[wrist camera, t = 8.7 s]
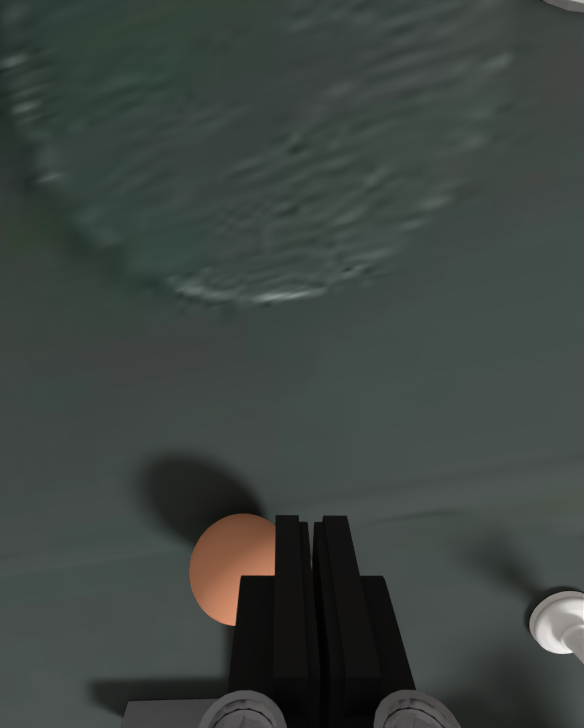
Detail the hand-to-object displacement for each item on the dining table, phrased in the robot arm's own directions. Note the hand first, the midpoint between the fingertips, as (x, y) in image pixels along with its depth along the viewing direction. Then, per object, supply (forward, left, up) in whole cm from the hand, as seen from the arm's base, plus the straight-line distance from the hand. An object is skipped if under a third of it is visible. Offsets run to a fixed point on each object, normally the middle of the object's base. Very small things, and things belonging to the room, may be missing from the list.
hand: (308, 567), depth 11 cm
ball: (+11, -2, -14) cm, 18 cm away
